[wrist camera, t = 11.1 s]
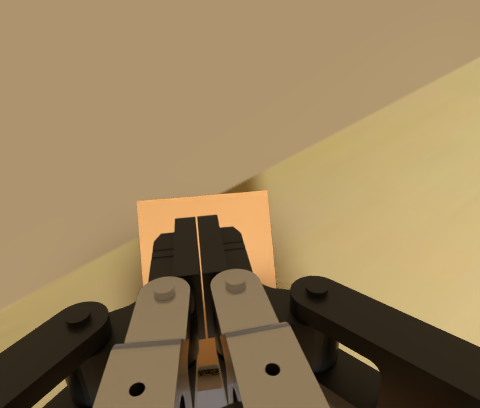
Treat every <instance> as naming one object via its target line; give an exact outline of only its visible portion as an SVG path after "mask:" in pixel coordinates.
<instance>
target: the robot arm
mask: <svg viewBox="0 0 480 408" xmlns="http://www.w3.org/2000/svg"><path fill="white" fill-rule="evenodd" d="M197 221H198V233H199V245H200V257H201V269H202V280H203V291H204V301H205V311H206V322H207V332H208V338H215V345H216V355H217V364H218V368H219V373H220V378H221V383H222V388H223V393H224V398H225V403H226V406H224V407H221V408H330V407H329V405H328V403H329V404H330V405H332V406H333V407H334V408H480V347H478V346H476V345H474V344H472V343H470V342H467V341H465V340H463V339H461V338H458V337H456V336H454V335H452V334H450V333H447V332H445V331H443V330H441V329H439V328H436V327H434V326H432V325H430V324H428V323H425V322H423V321H421V320H419V319H417V318H414V317H412V316H410V315H408V314H406V313H403V312H401V311H399V310H397V309H394V308H392V307H390V306H388V305H386V304H383V303H381V302H379V301H377V300H375V299H372V298H370V297H368V296H366V295H364V294H361V293H359V292H357V291H355V290H353V289H350V288H348V287H346V286H344V285H342V284H339V283H337V282H335V281H333V280H330V279H328V278H325V277H320V276H306V277H302V278H300V279H298V280H296V281H295V282H294V283H293V284H292V285H291V288H290V290H285V289H277V288H272V287H268V286H266V285H264V284H262V283H261V281H260V279H259V277H258V276H257V275H256V274H254V273H253V271H252V267H251V264H250V261H249V258H248V254H247V251H246V248H245V244H244V241H243V238H242V234H241V232H239V231H238V230H237V229H236V228H235V227H233V226H231V227H221V228H220V226H219V221H218V216H217V214H216V215H206V216H197ZM152 251H153V252H152V260H151V265H150V272H149V279H148V283H147V284H145V285H144V286H143V287H142V288H141V290H140V291H139V294H138V297H137V301H136V302H134V303H133V304H131V305H129V306H126V307H124V308H121V309H118V310H115V311H112V312H109V313H108V309H107V307H106V306H105V305H103V304H101V303H99V302H82V303H78V304H74V305H72V306H69V307H67V308H65V309H64V310H62V311H61V312H59V313H58V314H56V315H55V316H53V317H52V318H50V319H49V320H48V321H46V322H45V323H43V324H42V325H40V326H39V327H38V328H36V329H35V330H33V331H32V332H30V333H29V334H27V335H26V336H25V337H23V338H22V339H20V340H19V341H17V342H16V343H14V344H13V345H12V346H10V347H9V348H7V349H6V350H4V351H3V352H1V353H0V408H31V407H33V406H34V405H35V404H36V403H37V402H38V401H39V400H41V399H42V398H43V397H44V396H45V395H46V394H48V393H49V392H50V391H51V390H52V389H53V388H55V387H56V386H57V385H58V384H59V383H60V382H61V381H63V380H64V379H65V380H66V383H67V386H66V387H65V388H64V389H63V390H62V391H61V392H60V393H58V394H57V395H56V396H55V397H54V398H53V399H52V400H51V401H49V402H48V403H47V404H46V405H45V406H44V407H43V408H197V389H198V365H199V363H198V354H199V340H201V339H206V335H205V322H204V309H203V296H202V283H201V271H200V259H199V249H198V239H197V228H196V218H195V217H186V218H175V227H174V232H172V233H161V234H160V235H159V236H158V237H157V239H156V240H155V241H154V243H153V250H152ZM339 343H341V344H343V345H344V346H346V347H348V348H350V349H351V350H353V351H355V352H357V353H358V354H360V355H362V356H364V357H365V358H367V359H369V360H370V361H372V362H373V363H374V364H375V365H376V366H377V368H378V369H379V371H380V372H379V371H377V370H375V369H374V368H372V367H370V366H368V365H367V364H365V363H363V362H362V361H360V360H358V359H356V358H355V357H353V356H351V355H349V354H348V353H346V352H344V351H343V350H341V349H339V348H338V346H339Z"/></svg>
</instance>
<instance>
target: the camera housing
mask: <svg viewBox="0 0 480 408" xmlns="http://www.w3.org/2000/svg"><path fill="white" fill-rule="evenodd" d="M328 405H329V407H330V408H334V407H333V406H332V405H330V404H329V403H328ZM224 406H226V403H225V398H224V393H223V388H222V383H221V378H220V374H214V375H206V376H199V377H198V389H197V408H221V407H224Z"/></svg>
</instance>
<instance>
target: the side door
mask: <svg viewBox="0 0 480 408" xmlns="http://www.w3.org/2000/svg"><path fill="white" fill-rule="evenodd" d="M137 209H138V223H139V237H140V250H141V264H142V278H143V286H144V285H145V284H147V283H148V279H149V272H150V265H151V260H152V252H153V251H152V250H153V243H154V241H155V240H156V239H157V237H158V236H159V235H160V234H161V233H172V232H174V227H175V218H186V217H195V218H196V228H197V239H198V249H199V259H200V271H201V283H202V296H203V309H204V322H205V335H206V339H201V340H199V354H198V363H199V365H198V371H202V370H210V369H218V364H217V355H216V345H215V338H208V332H207V322H206V311H205V301H204V291H203V280H202V269H201V257H200V245H199V233H198V221H197V216H206V215H216V214H217V216H218V221H219V226H220V228H221V227H231V226H233V227H235V228H236V229H237V230H238V231H239V232H241V234H242V238H243V241H244V244H245V248H246V251H247V254H248V258H249V261H250V264H251V267H252V271H253V273H254V274H256V275H257V276H258V277H259V279H260V281H261V283H262V284H264V285H266V286H268V287H272V288H276V279H275V268H274V258H273V247H272V236H271V226H270V215H269V205H268V194H267V190H266V191H254V192H241V193H229V194H217V195H204V196H192V197H180V198H167V199H155V200H143V201H137Z"/></svg>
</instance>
